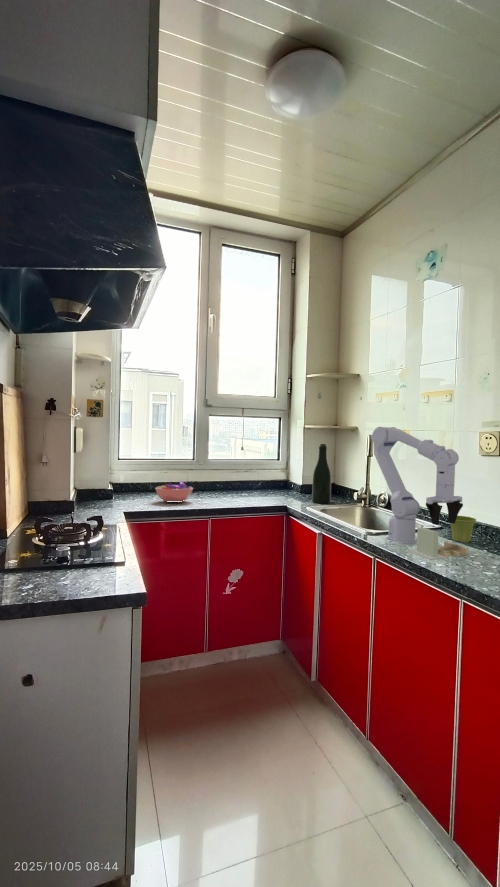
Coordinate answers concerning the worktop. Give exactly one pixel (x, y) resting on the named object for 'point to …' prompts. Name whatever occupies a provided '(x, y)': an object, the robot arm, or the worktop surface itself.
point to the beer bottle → (322, 478)
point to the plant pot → (462, 528)
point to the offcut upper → (443, 551)
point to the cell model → (174, 492)
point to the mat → (426, 555)
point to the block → (427, 542)
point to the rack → (455, 549)
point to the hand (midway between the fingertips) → (443, 523)
